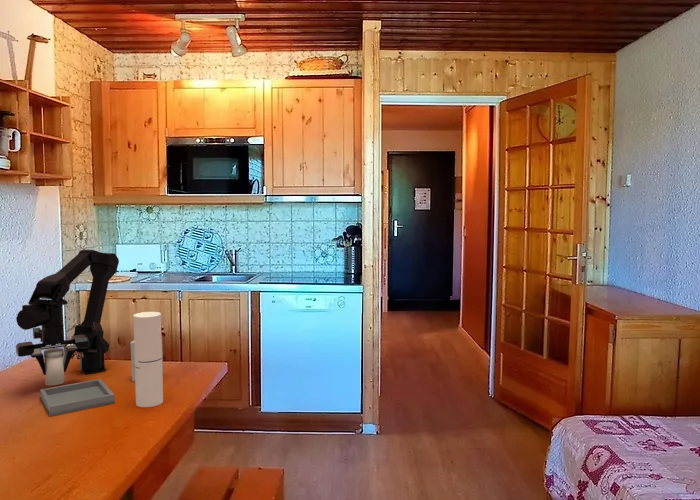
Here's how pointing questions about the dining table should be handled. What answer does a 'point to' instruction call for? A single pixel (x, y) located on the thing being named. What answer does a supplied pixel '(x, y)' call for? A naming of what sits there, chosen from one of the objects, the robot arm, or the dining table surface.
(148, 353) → the cylindrical container
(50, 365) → the shaker
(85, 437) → the dining table surface
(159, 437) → the dining table surface
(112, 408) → the dining table surface
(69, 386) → the tray
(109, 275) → the robot arm
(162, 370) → the supplement box
